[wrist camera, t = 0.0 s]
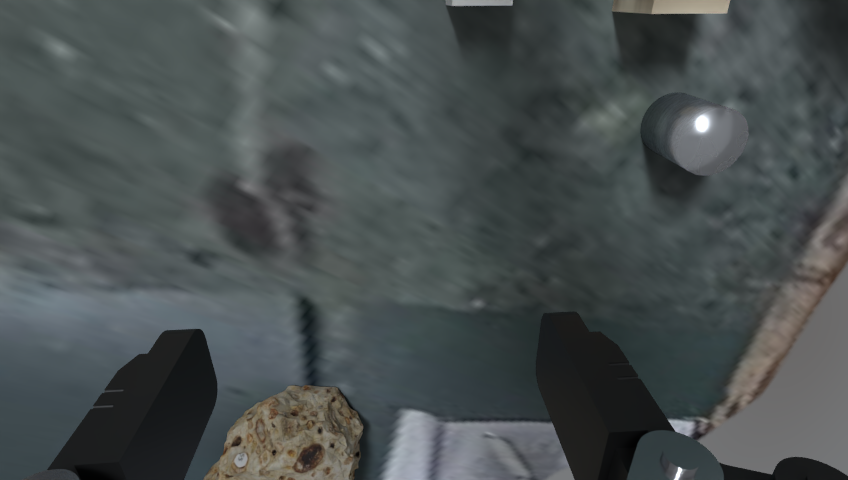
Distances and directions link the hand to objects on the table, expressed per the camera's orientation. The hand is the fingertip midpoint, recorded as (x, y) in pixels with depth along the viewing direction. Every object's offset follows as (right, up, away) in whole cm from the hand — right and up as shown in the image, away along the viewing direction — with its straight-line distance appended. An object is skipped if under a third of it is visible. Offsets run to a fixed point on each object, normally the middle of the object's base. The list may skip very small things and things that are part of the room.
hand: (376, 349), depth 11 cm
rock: (-14, -20, +43) cm, 49 cm away
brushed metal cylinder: (+22, +12, +28) cm, 38 cm away
